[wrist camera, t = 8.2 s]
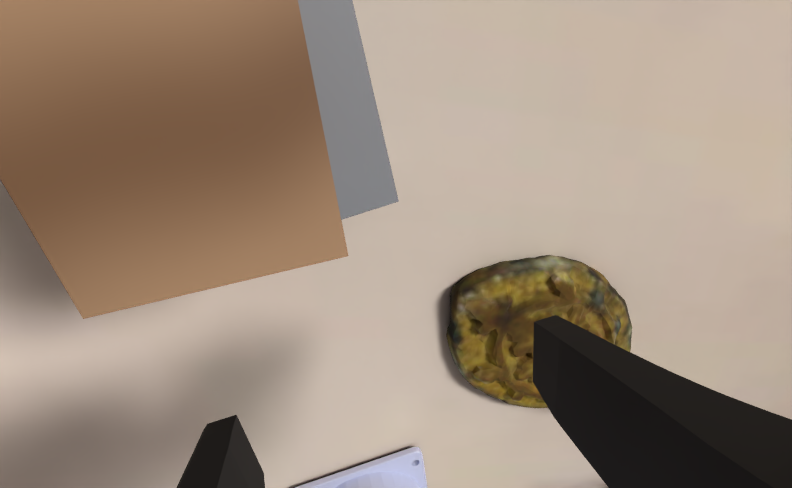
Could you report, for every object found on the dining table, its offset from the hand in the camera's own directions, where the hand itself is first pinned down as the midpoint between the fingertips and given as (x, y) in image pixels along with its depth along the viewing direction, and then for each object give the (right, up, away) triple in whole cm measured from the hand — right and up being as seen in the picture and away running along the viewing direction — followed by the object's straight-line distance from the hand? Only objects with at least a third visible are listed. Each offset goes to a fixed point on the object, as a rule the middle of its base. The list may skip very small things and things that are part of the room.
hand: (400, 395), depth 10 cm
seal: (+8, -1, +15) cm, 17 cm away
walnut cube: (-5, +7, +1) cm, 9 cm away
